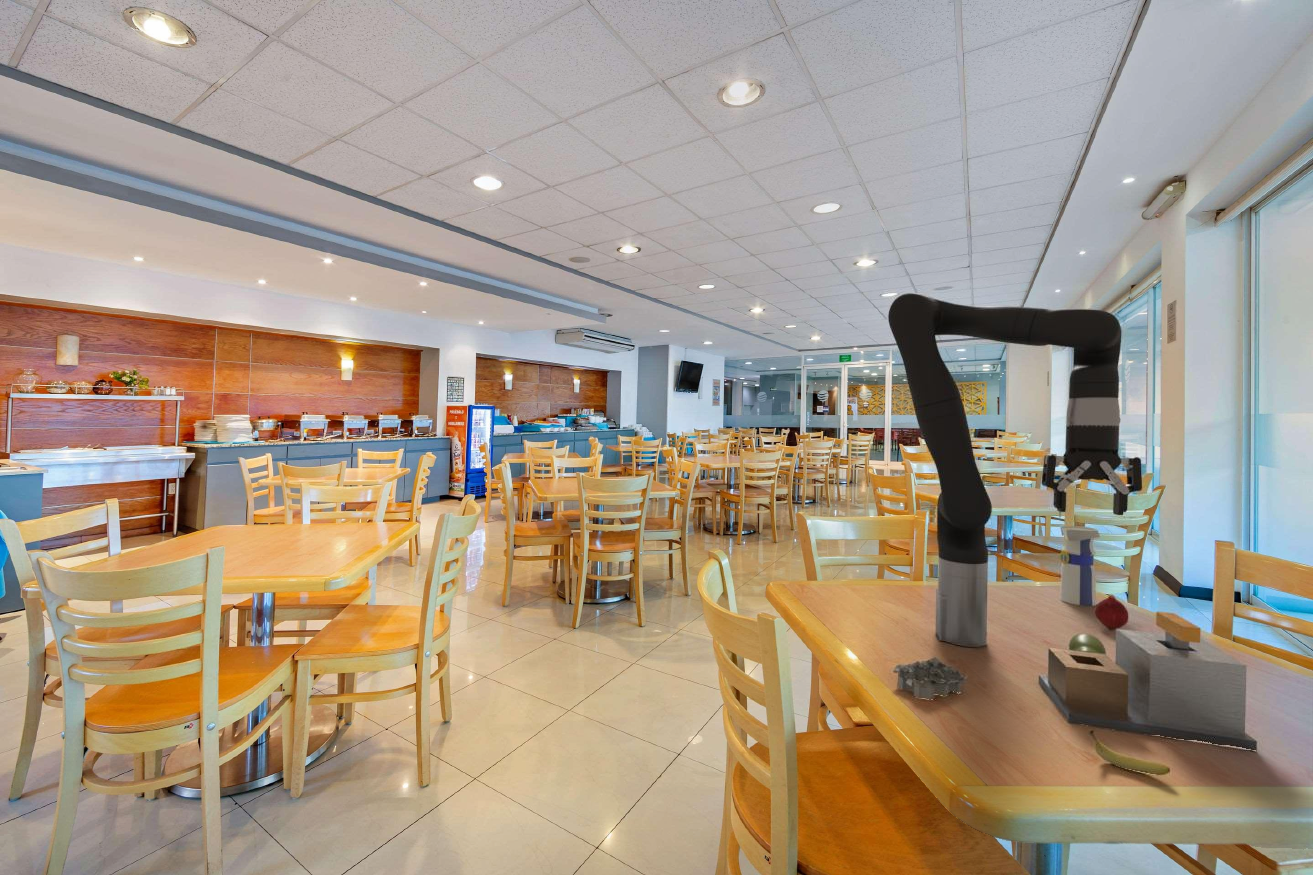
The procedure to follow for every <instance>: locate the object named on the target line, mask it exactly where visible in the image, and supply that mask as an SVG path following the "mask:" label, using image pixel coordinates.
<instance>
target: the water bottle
mask: <svg viewBox="0 0 1313 875" xmlns="http://www.w3.org/2000/svg"><path fill="white" fill-rule="evenodd" d="M1058 512H1059V511H1058ZM1058 514H1059V515H1058V517H1059V518H1060V519H1061V518H1062V512H1059V513H1058ZM1060 532H1061V537H1064V539H1065V540H1064V541H1065V543H1064V546H1063V547H1062V549H1061V551H1060V555H1059V559H1060V561H1061V563H1062V564H1061V571H1060V573H1061V574H1060V589H1059V600H1060V601H1062V602H1065V603H1068V604H1071V605H1076V606H1082V605H1083V607H1084V606H1085V607H1094V606H1095V607H1096V606H1097V604H1098V603H1097V590H1096V587H1097V585H1096V581H1097V580H1096V579H1097V578H1096V577H1097V576H1096V573H1097V572H1096V568H1095V565H1094V561H1095V560H1094V558H1095V557H1094V555H1096V551H1095V549H1094V547H1093V543H1094V539H1097V538H1100V531H1099V530H1098V529H1097V528H1094V527H1090V526H1089V527H1088V526H1082V525H1081V526H1080V525H1075V526H1074V525H1063V526H1060Z"/></svg>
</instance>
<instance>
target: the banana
mask: <svg viewBox="0 0 1313 875" xmlns="http://www.w3.org/2000/svg"><path fill="white" fill-rule="evenodd" d="M1088 734H1089V735H1090V736H1091V737H1092V739H1093V741H1094V744H1095V746H1094V747H1095V748H1094V750H1095V752H1096V753H1097V755H1098V756H1100V757H1101V758H1102V759H1103V760H1104V761H1106V762H1108V763H1109V762H1110V763H1109V764H1111V763H1112V764H1111V765H1113V764H1114V765H1113V766H1115V765H1117V766H1116V767H1118V766H1120V767H1119V768H1121V767H1123V768H1127V769H1131V770H1135V771H1140V772H1145V773H1150V774H1156V775H1155V776H1164V775H1167V774H1169V773H1170V772H1171V769H1170V767H1169V765H1168V766H1167V765H1166V764H1164V763H1161V762H1156V761H1150V760H1146V759H1141V758H1135V757H1132V756H1129V755H1125V754H1122V753H1119V752H1117V751H1114V750H1112V749H1110V748H1108V747H1107V746H1105V744H1103V743H1101V742H1100V741H1099V740H1098V738H1097V735H1096V734H1095V729H1089V730H1088ZM1123 768H1122V769H1123ZM1127 769H1126V770H1127ZM1150 774H1149V775H1150Z"/></svg>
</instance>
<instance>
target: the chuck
mask: <svg viewBox="0 0 1313 875" xmlns="http://www.w3.org/2000/svg"><path fill="white" fill-rule="evenodd" d="M1047 661H1048V662H1047V663H1048V664H1047V666H1048V667H1047V669H1048V670H1047V674H1038V684H1039V685H1040V687H1041V688H1042V690H1043V691H1044V692H1045V693H1046V695H1047V696H1048V697H1049V699H1050V700H1051V701H1052V703H1053V704H1054V705H1055V707H1056V708H1057V709H1058V711H1059V710H1060V711H1059V712H1060V713H1061V715H1062V714H1063V715H1062V716H1063V718H1064V719H1065V720H1066V721H1067V722H1068V723H1069V722H1070V723H1069V724H1073V723H1074V724H1075V725H1080V724H1084V725H1083V726H1086V725H1088V727H1093V728H1099V729H1105V730H1112V729H1114V730H1113V731H1119V732H1124V733H1125V732H1127V733H1132V734H1138V735H1144V734H1146V735H1145V736H1150V735H1160V736H1164V737H1171V738H1176V739H1184V740H1197V741H1202V742H1203V741H1204V742H1208V743H1209V742H1210V743H1212V744H1218V745H1230V746H1236V747H1242V748H1246V749H1251V750H1256V751H1257V750H1258V745H1257V744H1258V741H1257V740H1256V739H1254V737H1252V736H1251V735H1249V734H1248V733H1247V732H1246V708H1247V707H1246V705H1247V704H1246V703H1247V702H1246V701H1247V698H1246V697H1247V669H1248V668H1247V665H1246V664H1245V663H1244V662H1242V661H1240V660H1238V659H1236V658H1235V657H1233V656H1231V655H1230V654H1228V653H1226V652H1225V651H1223V650H1221V649H1219V648H1218V647H1216V646H1215V645H1212V644H1211V643H1209V642H1208V641H1206V640H1204V639H1203V638H1202V637H1200V643H1196V642H1189V651H1186V650H1177V649H1168V648H1166V647H1165V633H1159V632H1158V633H1157V632H1151V631H1150V632H1149V631H1140V630H1132V629H1131V630H1130V629H1129V630H1128V629H1121V628H1117V629H1115V661H1114V660H1113V659H1111V657H1109V656H1108V655H1107V654H1106V655H1105V654H1099V653H1090V652H1082V651H1073V650H1069V649H1063V648H1056V647H1048V660H1047ZM1074 724H1073V725H1074ZM1176 739H1175V740H1176ZM1257 752H1258V751H1257Z"/></svg>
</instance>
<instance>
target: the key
mask: <svg viewBox="0 0 1313 875" xmlns="http://www.w3.org/2000/svg"><path fill="white" fill-rule="evenodd" d="M1155 617H1156V618H1155V621H1156V622H1155V625H1156V626H1157V627H1158V628H1160V629H1162V630H1163V631H1165V633H1164V634H1165V647H1166V648H1168V649H1177V650H1186V651H1189V642H1196V643H1200V638H1201V631H1202V630H1201V627H1200V626H1197V625H1195V624H1193V623H1192V622H1190V620H1186V619H1185V618H1184V617H1181V616H1179V615H1178V614H1176V613H1175V612H1165V611H1156V616H1155Z"/></svg>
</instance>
